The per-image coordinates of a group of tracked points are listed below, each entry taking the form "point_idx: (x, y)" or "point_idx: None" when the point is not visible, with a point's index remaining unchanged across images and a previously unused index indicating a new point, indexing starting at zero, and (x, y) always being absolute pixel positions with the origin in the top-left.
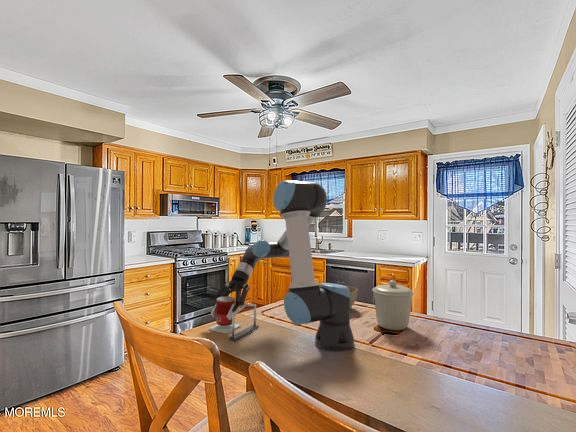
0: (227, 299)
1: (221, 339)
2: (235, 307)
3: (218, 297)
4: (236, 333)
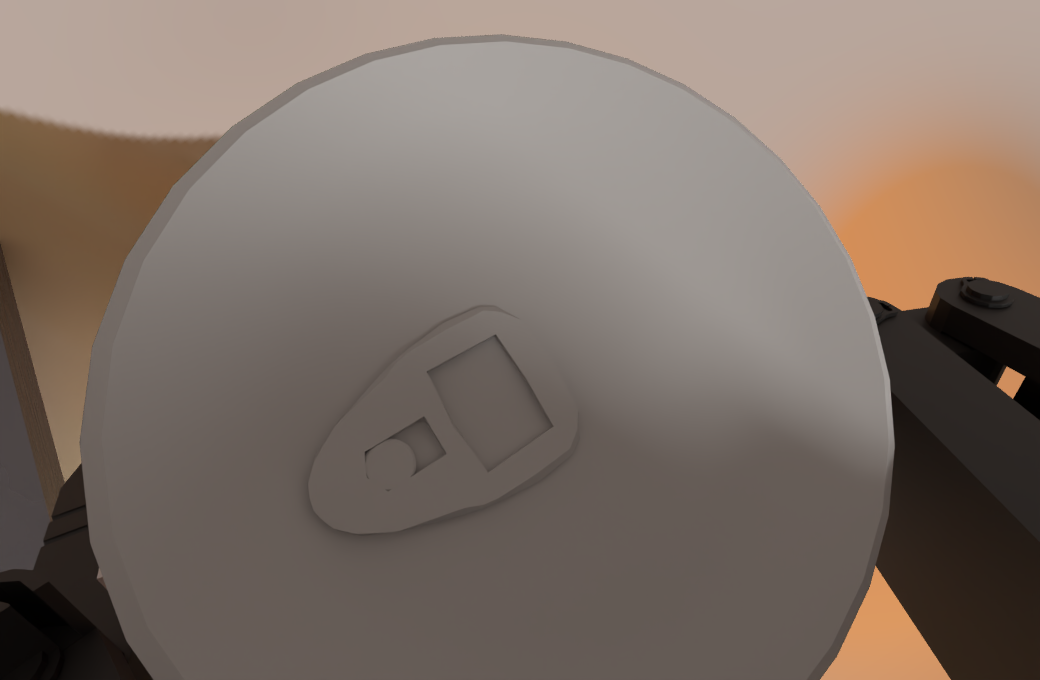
0: (417, 385)
1: (114, 199)
2: (59, 556)
3: (830, 235)
4: (17, 397)
